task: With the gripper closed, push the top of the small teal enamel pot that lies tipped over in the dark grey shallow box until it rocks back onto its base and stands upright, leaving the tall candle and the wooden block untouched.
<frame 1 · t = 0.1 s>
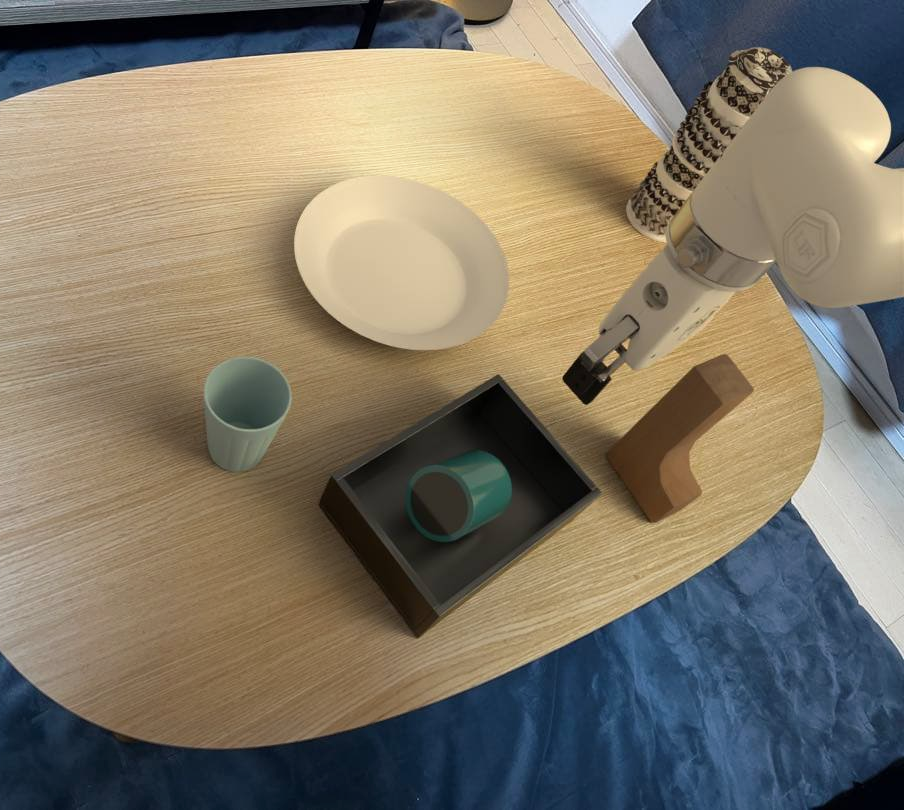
hand: (611, 367, 74), 18 cm above the table, tool pointing down, fingers open, 9 cm apart
dark grey shallow box: (449, 512, 84), on the table
decorative candle: (654, 219, 114), on the table
bowl: (395, 278, 99), on the table
wooden block: (641, 482, 92), on the table
pot: (459, 494, 79), point 6 cm above the table, hinge at 60.1°
cup: (236, 448, 83), on the table
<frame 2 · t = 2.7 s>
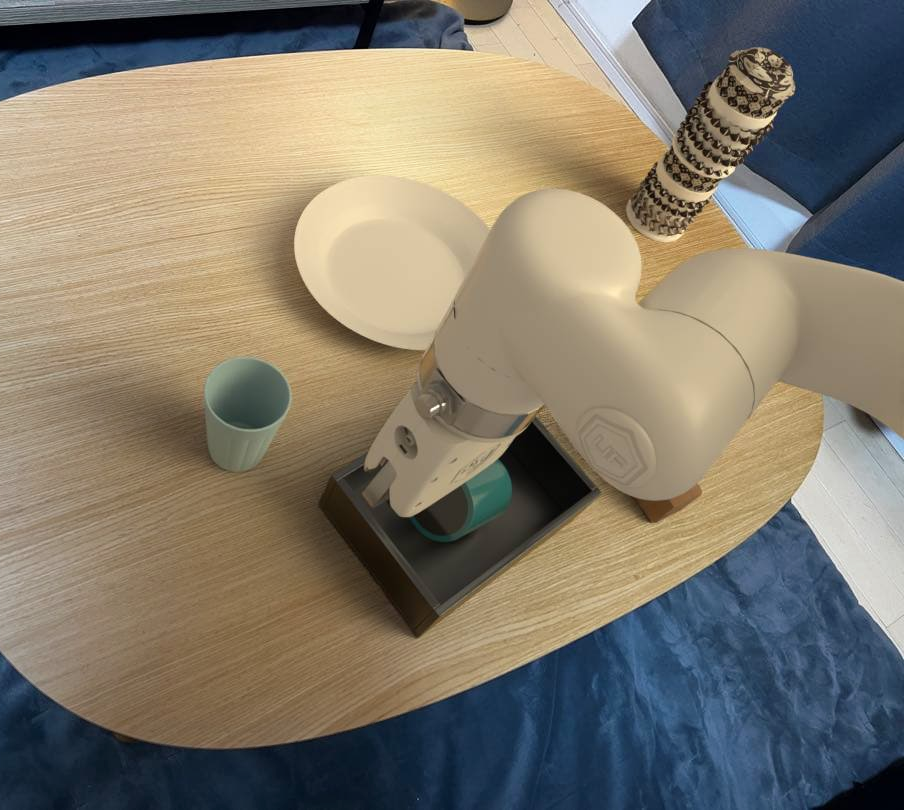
hand: (400, 499, 65), 17 cm above the table, tool pointing down, fingers closed
nothing on the table moved.
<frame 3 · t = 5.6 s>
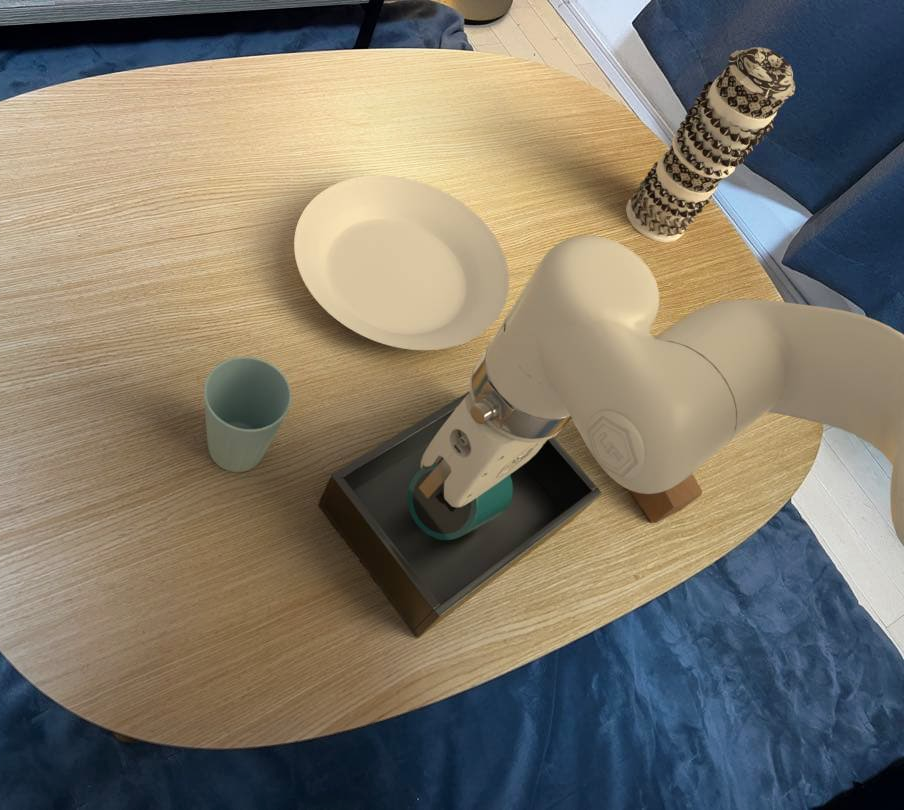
hand: (446, 494, 74), 10 cm above the table, tool pointing down, fingers closed
pot: (460, 493, 79), point 6 cm above the table, hinge at 58.0°, touching gripper
everything else where it was.
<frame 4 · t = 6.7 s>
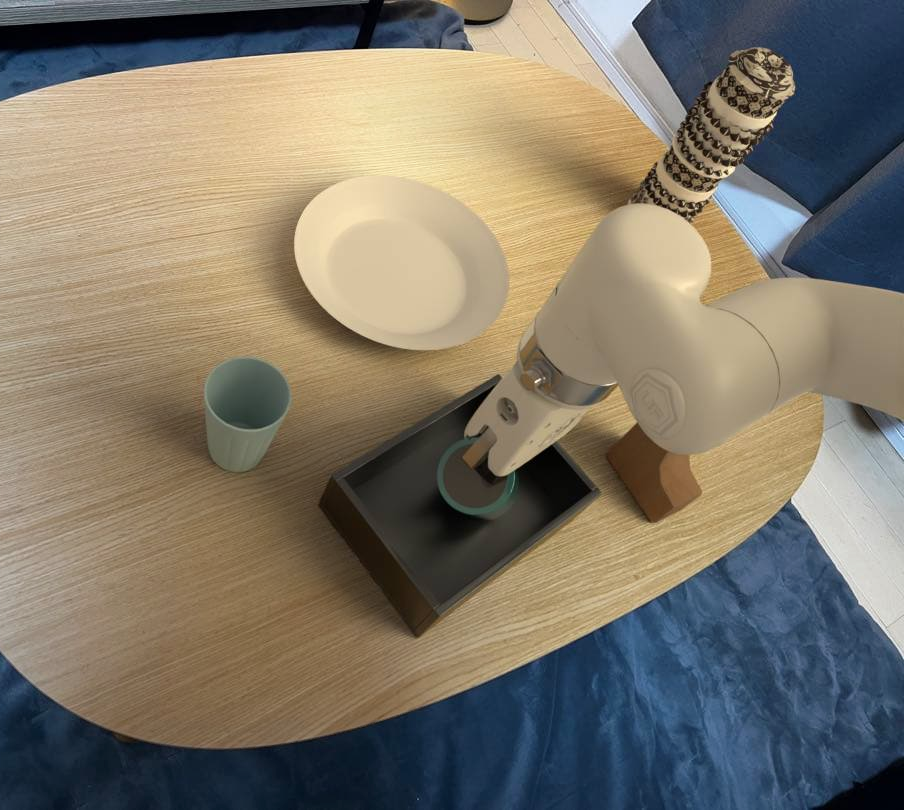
hand: (484, 466, 75), 11 cm above the table, tool pointing down, fingers closed
pot: (479, 480, 80), point 6 cm above the table, hinge at 32.4°, touching gripper
everything else where it was.
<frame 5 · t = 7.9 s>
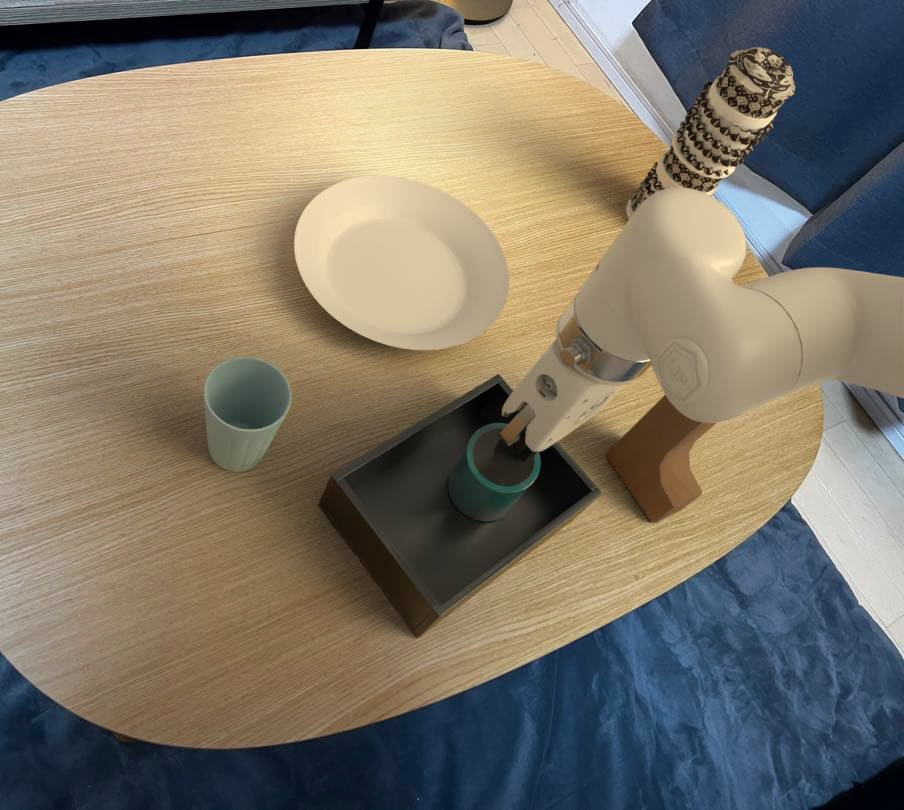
hand: (518, 445, 78), 10 cm above the table, tool pointing down, fingers closed
pot: (492, 473, 82), point 5 cm above the table, hinge at 6.9°, touching gripper
everything else where it was.
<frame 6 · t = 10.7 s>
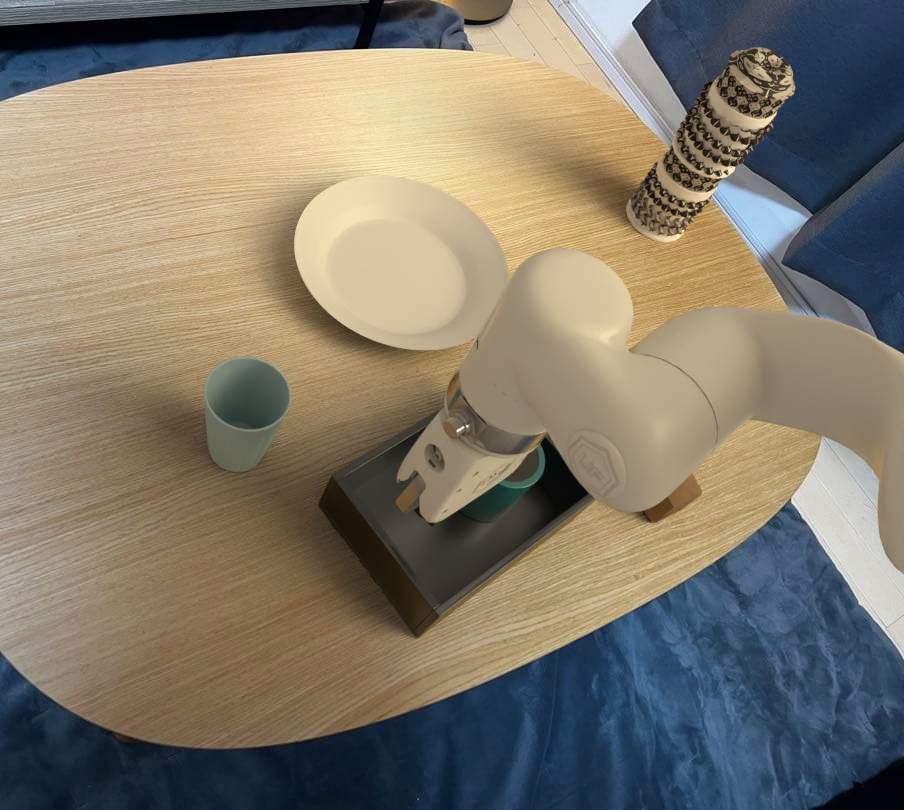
hand: (426, 508, 73), 10 cm above the table, tool pointing down, fingers closed
pot: (494, 472, 82), point 5 cm above the table, hinge at -0.1°
everything else where it was.
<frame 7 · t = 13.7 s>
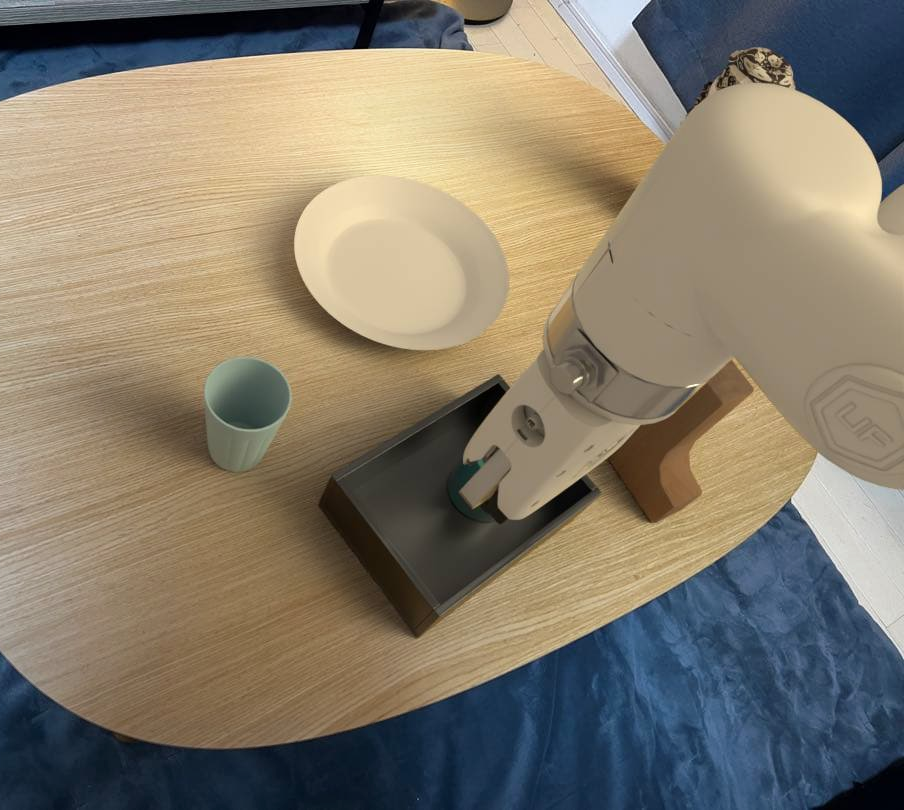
hand: (492, 500, 55), 27 cm above the table, tool pointing down, fingers closed
nothing on the table moved.
at the end: pot at +0° (first picture: +60°); decorative candle moved 0.2 cm from its start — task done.
